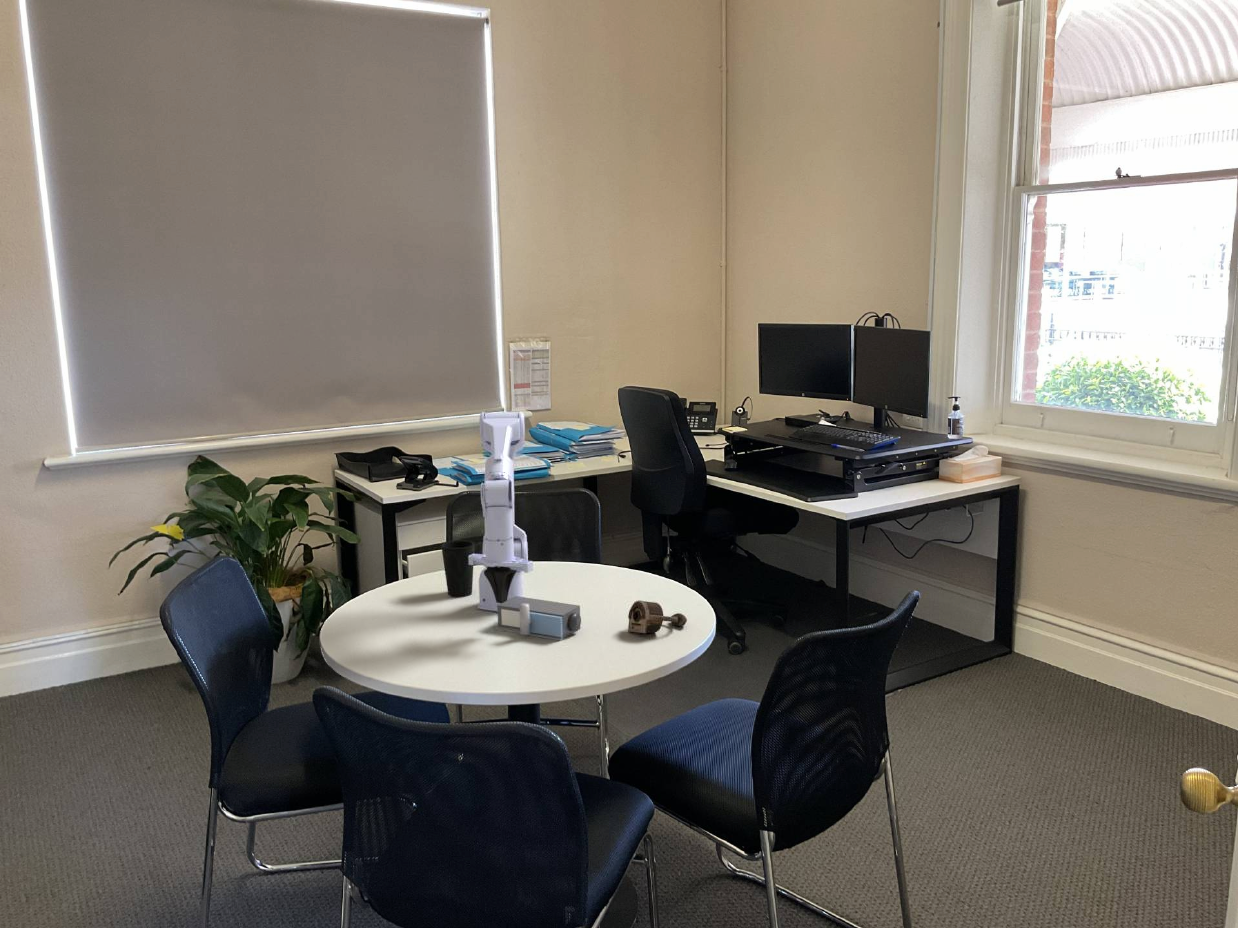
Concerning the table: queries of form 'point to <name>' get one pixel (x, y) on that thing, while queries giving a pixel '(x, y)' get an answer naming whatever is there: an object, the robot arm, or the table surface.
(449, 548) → the cup
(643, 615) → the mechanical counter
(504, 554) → the robot arm
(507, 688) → the table surface
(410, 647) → the table surface
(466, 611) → the table surface
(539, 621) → the door
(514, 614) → the housing
